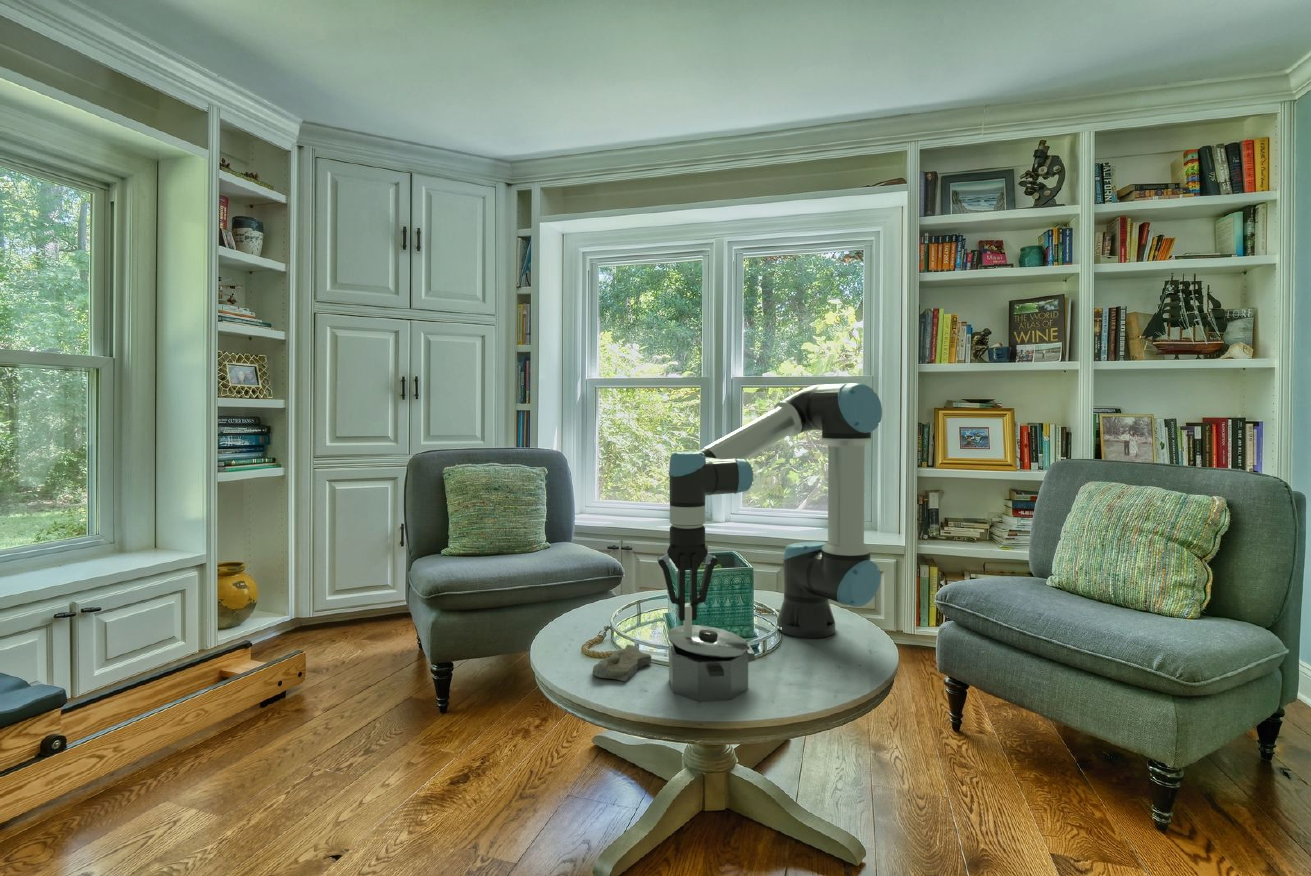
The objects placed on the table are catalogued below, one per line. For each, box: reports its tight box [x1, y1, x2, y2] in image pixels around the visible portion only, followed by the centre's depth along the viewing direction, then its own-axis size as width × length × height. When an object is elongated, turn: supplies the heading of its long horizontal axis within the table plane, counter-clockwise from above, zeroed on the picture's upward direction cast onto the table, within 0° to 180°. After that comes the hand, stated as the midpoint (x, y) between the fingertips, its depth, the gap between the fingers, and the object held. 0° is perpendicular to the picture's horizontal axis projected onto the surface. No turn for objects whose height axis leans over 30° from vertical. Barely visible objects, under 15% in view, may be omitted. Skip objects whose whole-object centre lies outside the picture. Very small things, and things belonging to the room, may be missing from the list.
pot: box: [668, 642, 756, 702], centre depth 145 cm, size 18×21×8 cm
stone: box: [592, 644, 652, 682], centre depth 153 cm, size 15×10×4 cm, turn 151°
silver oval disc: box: [667, 624, 751, 657], centre depth 144 cm, size 17×17×2 cm
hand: (687, 635), depth 144 cm, fingers closed
